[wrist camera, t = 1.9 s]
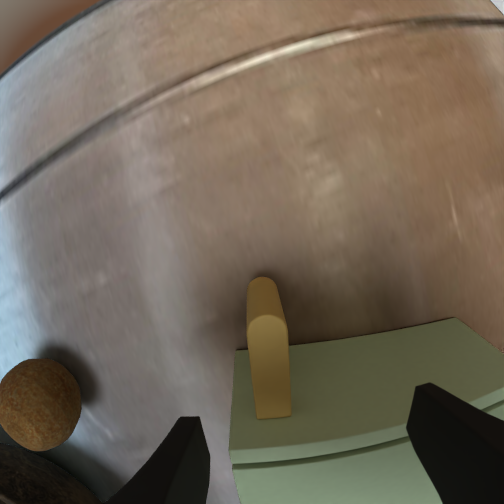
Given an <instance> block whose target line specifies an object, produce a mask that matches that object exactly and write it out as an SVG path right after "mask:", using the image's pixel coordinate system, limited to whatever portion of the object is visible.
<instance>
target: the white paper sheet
mask: <svg viewBox="0 0 504 504" xmlns="http://www.w3.org/2000/svg"><path fill="white" fill-rule="evenodd" d="M491 1H492V3H493V4H494V5H495V6H496V7H497V8H498V9H499V10H500V11H501V12H502V13H503V15H504V0H491Z"/></svg>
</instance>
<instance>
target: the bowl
mask: <svg viewBox="0 0 504 504" xmlns="http://www.w3.org/2000/svg"><path fill="white" fill-rule="evenodd" d="M0 504H103V503H102V502H101V501H100V499H99V498H98V497H97V496H96V495H95V494H94V493H93V492H91V491H90V490H89V489H88V488H87V487H86V486H84V485H83V484H82V483H81V482H79V481H78V480H77V479H76V478H74V477H73V476H72V475H71V474H69V473H68V472H66V471H65V470H63V469H62V468H60V467H59V466H57V465H55V464H53V463H52V462H50V461H48V460H46V459H44V458H42V457H40V456H38V455H36V454H34V453H32V452H30V451H27V450H25V449H22V448H19V447H15V446H12V445H8V444H4V443H0Z"/></svg>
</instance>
